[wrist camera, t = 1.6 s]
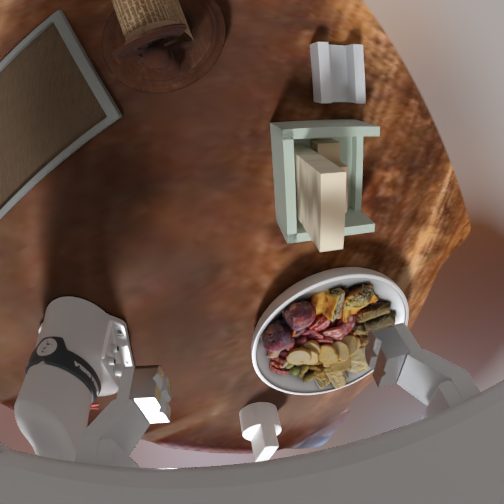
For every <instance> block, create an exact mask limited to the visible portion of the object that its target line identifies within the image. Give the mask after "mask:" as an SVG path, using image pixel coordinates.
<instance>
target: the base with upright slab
mask: <svg viewBox="0 0 504 504" xmlns="http://www.w3.org/2000/svg"><path fill="white" fill-rule="evenodd" d="M239 416H240V423H241V430H242V436H243V437H244V438H245V439H247V440H250V441H251V443H252V449H253V455H254V461H255V462H259V461H266V460H269V459H270V457H271V456H272V455H273V454H274V452H275V451H276V450H277V448H278V447H279V445H278V440H277V435H279V434H280V433H281V430H282V429H281V424H280V420H279V416H278V412H277V407H276V406H275V405H274V404H272V403H269V402H256V403H252V404H249V405H247V406H245V407H243V408H242V409H241V411H240V413H239Z"/></svg>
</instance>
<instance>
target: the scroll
mask: <svg viewBox="0 0 504 504" xmlns="http://www.w3.org/2000/svg"><path fill="white" fill-rule="evenodd" d="M111 1H112V3H113V6H114V9H115V10H114V11H113V12H112V14H111V16H110V17H109V19H108V21H107V23H106V26H105V29H104V33H103V39H102V49H103V55H104V59H105V62H106V64H107V66H108V68H109V69H110V71H111V72H112V74H113V75H114V76H115V77H116V78H117V79H118V80H119V81H121V82H122V83H124V84H125V85H127V86H129V87H131V88H133V89H136V90H139V91H143V92H149V93H164V92H171V91H175V90H179V89H181V88H184V87H186V86H189V85H190V84H192V83H194V82H196V81H197V80H199V79H200V78H201V77H203V76H204V75H205V74H206V73H207V72H208V71H209V70H210V69H211V68H212V67H213V65H214V64H215V63H216V61H217V59H218V58H219V56H220V54H221V51H222V49H223V46H224V42H225V36H226V25H225V19H224V16H223V13H222V11H221V9H220V7H219V5H218V4H217V3H216V1H215V0H111Z"/></svg>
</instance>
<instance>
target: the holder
mask: <svg viewBox="0 0 504 504" xmlns="http://www.w3.org/2000/svg"><path fill="white" fill-rule="evenodd" d="M310 55H311V68H312V83H313V100H314V102H317V103H332V102H350V103H359V104H366V95H365V71H364V54H363V45H360V44H350V45H346V46H344V45H329V44H328V42H315V43H312V44H310Z"/></svg>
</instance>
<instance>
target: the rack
mask: <svg viewBox="0 0 504 504" xmlns="http://www.w3.org/2000/svg"><path fill="white" fill-rule="evenodd" d="M270 131H271V145H272V160H273V175H274V191H275V208H276V221H277V223H278V225H279V227H280V229H281V231H282V233H283V235H284V237H285V239H286V241H287V243H295V242H303V241H310V240H312V239H311V238H310V236H309V235H308V233H307V231H306V230H305V228H304V227H303V225H302V224H301V222H300V221H299V219H298V218H297V216H296V186H295V161H294V144H304V145H306V146H307V147H309V148H311V144H310V140H314V139H334V140H336V141H338V142H340V162H342V163H343V164H345V165H346V166H348V200H347V213H345V227H344V236H347V235H354V234H361V233H369V232H374V229H375V223H374V222H373V221H372V220H371V219H369V218H368V217H367V216H366V215H365V214H364V213H363V212H362V211H361V199H362V176H363V136H380V126H376V125H373V124H370V123H366V122H363V121H359V120H356V119H334V120H304V121H286V122H272V123H270Z"/></svg>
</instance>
